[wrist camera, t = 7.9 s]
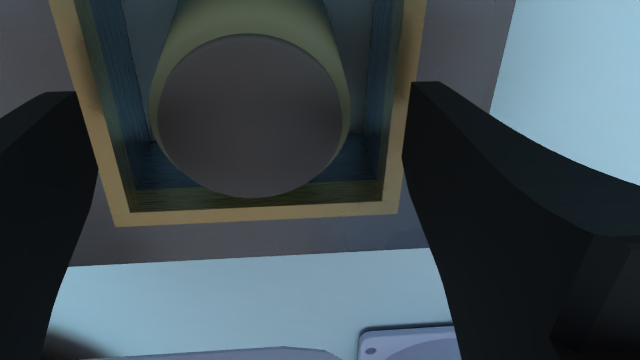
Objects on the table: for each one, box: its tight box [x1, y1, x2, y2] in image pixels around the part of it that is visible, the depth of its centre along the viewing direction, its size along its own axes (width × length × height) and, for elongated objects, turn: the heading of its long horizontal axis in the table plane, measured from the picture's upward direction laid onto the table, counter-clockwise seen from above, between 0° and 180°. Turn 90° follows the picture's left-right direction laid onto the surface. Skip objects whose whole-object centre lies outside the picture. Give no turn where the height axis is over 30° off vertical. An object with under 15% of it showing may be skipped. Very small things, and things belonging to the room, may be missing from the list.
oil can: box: [148, 0, 351, 198], centre depth 14 cm, size 4×4×5 cm
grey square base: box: [0, 0, 516, 267], centre depth 14 cm, size 13×13×4 cm
